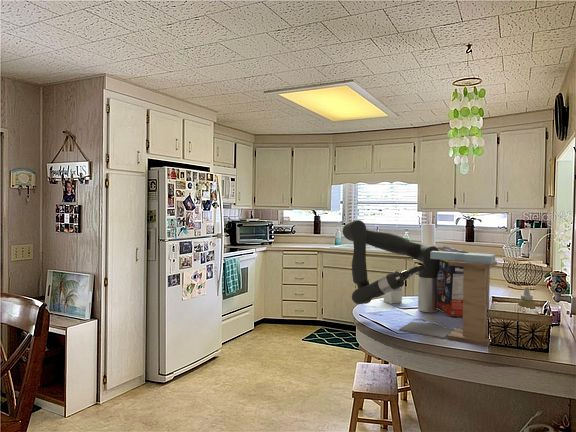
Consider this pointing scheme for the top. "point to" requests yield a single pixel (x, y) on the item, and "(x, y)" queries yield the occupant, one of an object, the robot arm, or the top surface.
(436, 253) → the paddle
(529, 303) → the squeeze bottle
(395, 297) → the supplement box
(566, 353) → the top surface
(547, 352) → the top surface
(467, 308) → the wooden pedestal stand
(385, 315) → the top surface
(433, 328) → the mat
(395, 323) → the top surface
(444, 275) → the cereal box
